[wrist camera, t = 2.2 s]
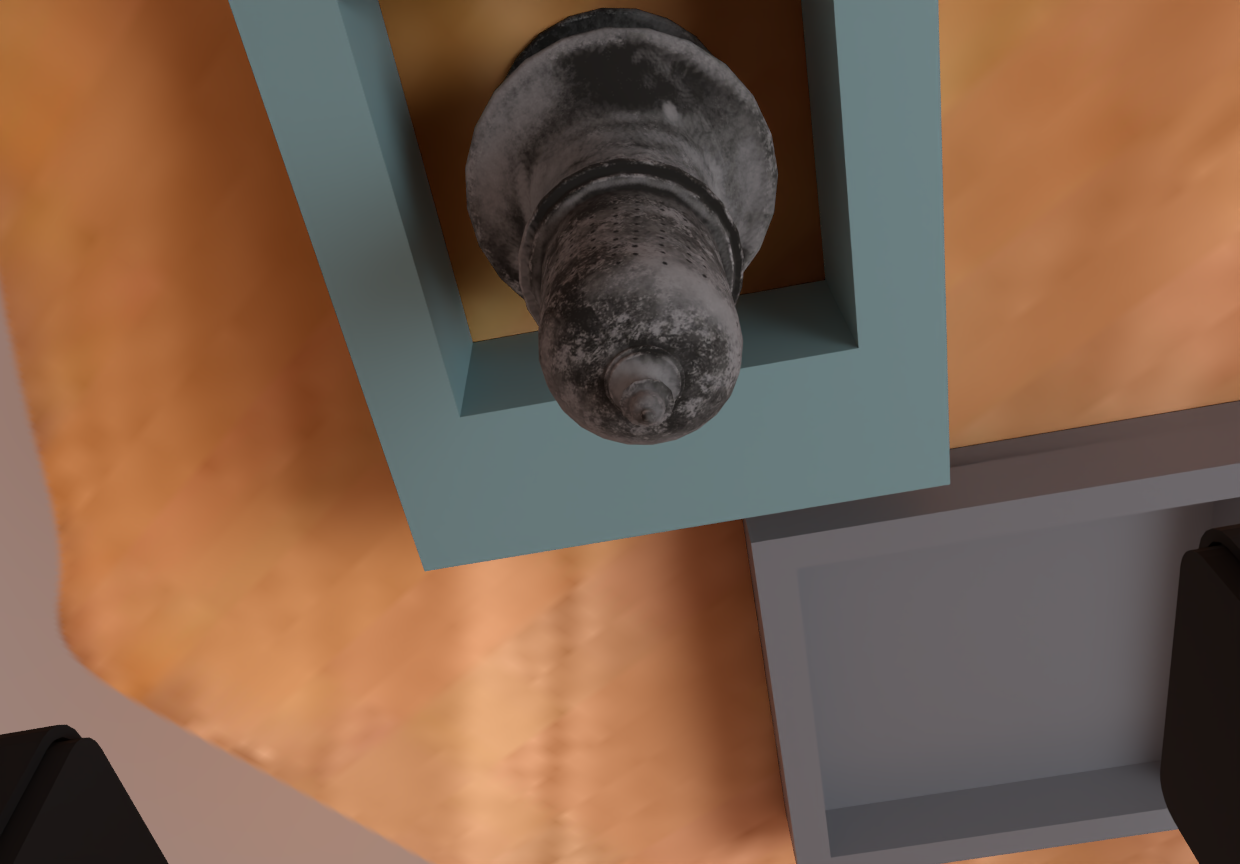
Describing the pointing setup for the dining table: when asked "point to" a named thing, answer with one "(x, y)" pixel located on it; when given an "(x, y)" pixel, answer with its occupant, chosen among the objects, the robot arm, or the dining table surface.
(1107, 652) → the tray
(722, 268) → the salt shaker
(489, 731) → the dining table surface
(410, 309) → the holder block
